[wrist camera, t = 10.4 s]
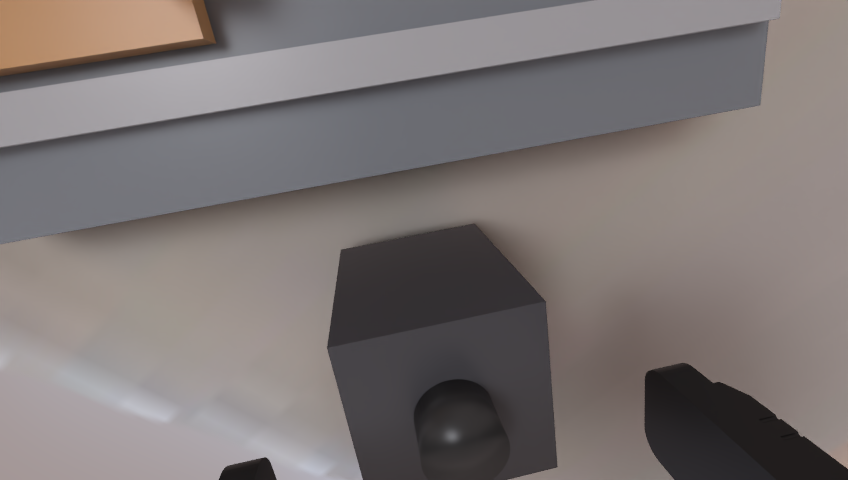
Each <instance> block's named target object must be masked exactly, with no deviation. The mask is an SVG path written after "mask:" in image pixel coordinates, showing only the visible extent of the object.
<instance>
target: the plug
mask: <svg viewBox="0 0 848 480" xmlns="http://www.w3.org/2000/svg"><path fill="white" fill-rule="evenodd" d="M327 349H328V353H329V356H330V360H331V364H332V367H333V371H334V375H335V378H336V382H337V386H338V389H339V393H340V397H341V400H342V404H343V408H344V411H345V415H346V419H347V422H348V426H349V430H350V433H351V437H352V441H353V445H354V448H355V452H356V456H357V459H358V463H359V467H360V470H361V474H362V478H363V480H508V479H512V478H516V477H520V476H524V475H528V474H532V473H536V472H540V471H544V470H548V469H552V468H556V467H557V455H556V441H555V427H554V412H553V398H552V384H551V370H550V356H549V342H548V328H547V314H546V301H545V300H544V299H543V298H542V297H541V296H540V295H539V294H538V293H537V291H536V290H535V289H534V288H533V287H532V286H531V285H530V284H529V283H528V282H527V281H526V279H525V278H524V277H523V276H522V275H521V274H520V273H519V272H518V271H517V270H516V269H515V267H514V266H513V265H512V264H511V263H510V262H509V261H508V260H507V259H506V258H505V257H504V255H503V254H502V253H501V252H500V251H499V250H498V249H497V248H496V247H495V246H494V245H493V243H492V242H491V241H490V240H489V239H488V238H487V237H486V236H485V235H484V234H483V233H482V231H481V230H480V229H479V228H478V227H477V226H476V225H475V224H470V225H465V226H460V227H455V228H450V229H445V230H439V231H434V232H429V233H424V234H419V235H414V236H409V237H404V238H399V239H393V240H388V241H383V242H378V243H373V244H368V245H363V246H358V247H352V248H347V249H342V250H341V253H340V260H339V267H338V275H337V282H336V289H335V296H334V303H333V310H332V318H331V325H330V332H329V339H328V346H327Z"/></svg>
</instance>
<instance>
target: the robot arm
mask: <svg viewBox="0 0 848 480" xmlns="http://www.w3.org/2000/svg"><path fill="white" fill-rule="evenodd" d="M645 433H646V437H647V440H648V443H649V445H650V447H651V449H652V451H653V453H654V455H655V456H656V458H657V459H658V460H659V462H660V463H661V464H662V465H663V466H664V468H665V469H666V470H667V471H668V472H669V474H670V475H671V476H672V477H673V479H674V480H848V469H847V468H845V467H844V466H843V465H841V464H840V463H839V462H838V461H836V460H835V459H834V458H832V457H831V456H830V455H828V454H827V453H826V452H824V451H823V450H822V449H820V448H819V447H818V446H816V445H815V444H814V443H812V442H811V441H810V440H808V439H807V438H806V437H804V436H803V437H801V436H800V435H799V434H798V431H796V430H795V429H794V428H792V427H791V426H790V425H788V424H787V423H786V422H784V421H783V420H782V419H780V420H778V419H777V417H776V415H775V414H774V413H772V412H771V411H770V410H768V409H767V408H766V407H764V406H763V405H762V404H760V403H759V402H758V401H756V400H755V399H754V398H752V397H751V396H749V395H747V394H745V393H743V392H741V391H738V390H736V389H734V388H732V387H730V386H727V385H725V384H723V383H721V382H717V383H712V382H711V381H710V380H708V379H707V378H706V377H705V376H703V375H702V374H701V373H700V372H698V371H697V370H696V369H695V368H693V367H692V366H690V365H688V364H686V363H680V364H676V365H671V366H667V367H663V368H658V369H654V370H650V371H648V372H647V373H646V376H645ZM219 480H276V477H275V474H274V471H273V469H272V466H271V463H270V461H269V460H268V459H267V458H260V459H256V460H251V461H247V462H243V463H238V464H234V465H230V466H227V467H225V468H224V470H223V471H222V473H221V476H220V478H219Z"/></svg>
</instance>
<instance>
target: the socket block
mask: <svg viewBox="0 0 848 480" xmlns="http://www.w3.org/2000/svg"><path fill="white" fill-rule="evenodd" d="M204 3H205V7H206V10H207V14H208V17H209V21H210V24H211V27H212V31H213V34H214V38H215V41H216V44H209V45H203V46H196V47H190V48H183V49H177V50H170V51H163V52H157V53H150V54H144V55H137V56H131V57H124V58H118V59H111V60H105V61H98V62H91V63H85V64H78V65H72V66H65V67H59V68H52V69H46V70H39V71H33V72H26V73H19V74H13V75H6V76H0V244H4V243H9V242H15V241H20V240H26V239H31V238H37V237H42V236H48V235H53V234H59V233H64V232H69V231H75V230H80V229H86V228H91V227H97V226H102V225H108V224H113V223H119V222H124V221H130V220H135V219H141V218H146V217H152V216H157V215H163V214H168V213H174V212H179V211H184V210H190V209H195V208H201V207H206V206H212V205H217V204H223V203H228V202H234V201H239V200H245V199H250V198H256V197H261V196H267V195H272V194H278V193H283V192H289V191H294V190H299V189H305V188H310V187H316V186H321V185H327V184H332V183H338V182H343V181H349V180H354V179H360V178H365V177H371V176H376V175H382V174H387V173H393V172H398V171H404V170H409V169H414V168H420V167H425V166H431V165H436V164H442V163H447V162H453V161H458V160H464V159H469V158H475V157H480V156H486V155H491V154H497V153H502V152H508V151H513V150H519V149H524V148H529V147H535V146H540V145H546V144H551V143H557V142H562V141H568V140H573V139H579V138H584V137H590V136H595V135H601V134H606V133H612V132H617V131H623V130H628V129H634V128H639V127H644V126H650V125H655V124H661V123H666V122H672V121H677V120H683V119H688V118H694V117H699V116H705V115H710V114H716V113H721V112H727V111H732V110H738V109H743V108H749V107H754V106H759V105H760V102H761V92H762V82H763V72H764V62H765V52H766V42H767V32H768V22H769V20H774V19H779V18H780V10H781V0H204Z"/></svg>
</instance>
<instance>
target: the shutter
mask: <svg viewBox="0 0 848 480" xmlns="http://www.w3.org/2000/svg"><path fill="white" fill-rule="evenodd" d="M209 44H216V41H215V38H214V34H213V31H212V27H211V24H210V21H209V17H208V14H207V10H206V7H205V3H204V0H0V76H6V75H13V74H19V73H26V72H33V71H39V70H46V69H52V68H59V67H65V66H72V65H78V64H85V63H91V62H98V61H105V60H111V59H118V58H124V57H131V56H137V55H144V54H150V53H157V52H163V51H170V50H177V49H183V48H190V47H196V46H203V45H209Z"/></svg>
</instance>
